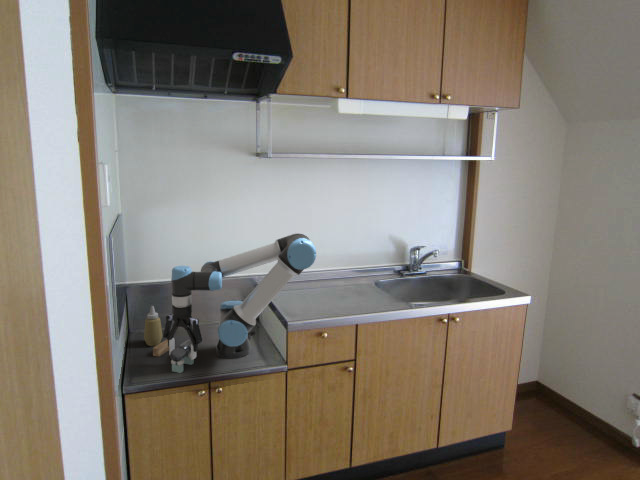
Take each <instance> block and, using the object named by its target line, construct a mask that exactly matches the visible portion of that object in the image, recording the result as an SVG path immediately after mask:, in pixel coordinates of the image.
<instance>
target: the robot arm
mask: <svg viewBox="0 0 640 480" xmlns="http://www.w3.org/2000/svg"><path fill="white" fill-rule="evenodd" d="M316 250H317V249H316V246H315V245H314V243H313V242H312V241H311V239H310V238H309V236H307V235H305V234H304V233H293V234H289V235H287V236H284V237H281V238H278V239H276V240H275V242H273V243H269V244H267V245H264V246H260V247H257V248H254V249H251V250H248V251H244V252H242V253H238V254H235V255H231V256H229V257H225V258H222V259H219V260H216V261H211V260H209V261H206V262H205V263H204V264H203V265H202V266H201V269H200V271H193V270H192V268H191V266H188V265H177V266H176V265H175V266H174V267H173V268H172V270H171V281H170V282H171V304H172V306H171V307H172V310H171V311H172V313H170V314H167V315H166V316H165V320H166V321H165V325H164V326H165V327H164V331H163V333H162V335H163V336H162V338H164V339H166V340H168V347H169V350H168V351H169V356H170V353H171V351H172V350H174V349H175V348H176V344H175V343H176V342H175V341H176V340H175V339H176V338H175V337H174V336H175V334H176V332H177V330H178V328H180V327H181V328H184V330H185V331H186V332H187V335H188V338H189V339H191V341H192V343H193V344H191V360H193V359H196V358H197V352H198V350H199V345H200V344H201V343H202V342H203V337H202V334H201V329H200V325H199V322H200V320H199V318H193V317H192V312H193V309H192V308H193V306H192V302H193V301H192V297H193V296H192V293H193V292H192V291H211V292H214V291H219V290H222V288H223V278H225V277H228V276H231V275H234V274H238V273H241V272H243V271H244V272H245V271H247V270H251V269H254V268H257V267H260V266H263V265H267V264H268V263H269V264H270V263H272V262H275V261H277V262H276V263H275V265H274V266H272V268H271V269H270V270H269V271H268V272H267V274H266V275H265V276H264V277H263V278H262V280H261V281H260V282H259V283H258V284H257V285H256V286H255V288H253V290H251V292H250V293H249V294H248V295H247V296H246V297H245V299H244V300H242V301H241V300H227V301H224V302H221V303H220V305H219V306H220V307H219V311H220V314H219V324H218V328H217V335H218V341H217V343H216V350H215V351H216V354H217V355H218V356H219V357H221V358H225V359H239V358H243V357H245V356H247V355H249V354H250V353H251V342H250V339H249V337H248V335H249V333H250V332H251V330H252V329H253V328H254V327H255V326H256V324H257V320H256V319H257V318H258V317H259V316H260V314H261V313H262V312H263V311H264V310H265V309H266V307H268V305H270V303H271V302H272V301H273V300H274V298H275V297H276V296H278V294H279V293H280V292H281V290H282V289H283V288H285V286H286V285H287V284H288V283H289V281H290V280H291V279H292V278H293V277H294V276H300V274H301V273H302V272H304V270H307V269H309V268H310V267H311V266H312V265H314V263H315V262H316V258H317V251H316ZM173 322H174V323H173Z"/></svg>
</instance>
